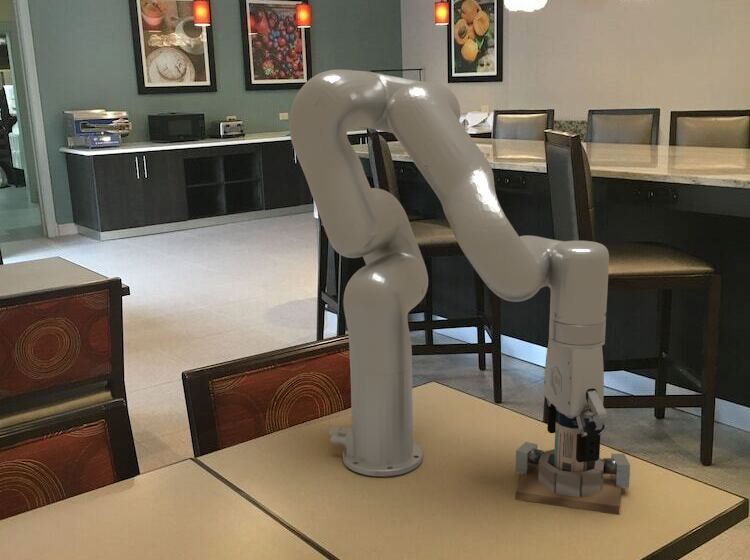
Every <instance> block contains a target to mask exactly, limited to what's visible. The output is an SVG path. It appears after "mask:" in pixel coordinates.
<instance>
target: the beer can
mask: <svg viewBox="0 0 750 560" xmlns="http://www.w3.org/2000/svg"><path fill="white" fill-rule="evenodd" d="M582 412H590V411H589V410H588V409H586V410H582ZM590 420H591V418H584V421H585V425H587V424H588V423H589V422H590ZM577 434H580V431H579V427H578V423H577V419H576V417H574V418H572V419H571V418H568V417H567V416H565V415H564V414H563V413H562V412H561V411H560V410H558V409H557V408H556V428H555V433H554V449H555V450H554V467H555V468H556V469H558V470H560V471H567V472H575V473H581V472H585V471H587V462H578V461H577V460H576V445H577Z"/></svg>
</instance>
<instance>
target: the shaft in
mask: <svg viewBox="0 0 750 560" xmlns="http://www.w3.org/2000/svg"><path fill="white" fill-rule="evenodd" d="M543 452H545V451H544V450H542V449H538V443H533V442H531V441H530V442H529V441H525V442H524V443H523V444H521V446H520V447H518V448H517V449H516V450H515V473H517V474H520V475H522V474H524V475H528V474H529V473H530V472H531V471H532V470H533V469H534V468H535V467H536V466H537V465H539V460H540V457H541V454H542V453H543Z"/></svg>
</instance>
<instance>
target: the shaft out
mask: <svg viewBox="0 0 750 560" xmlns="http://www.w3.org/2000/svg"><path fill="white" fill-rule="evenodd" d="M625 454H626V453H611V454H610V457H611V458H610V457H608V458H607V457H605V458H604V457H603V458H602V459H603V461H604V474H610V476H611V478H612V480H613V482H614V485H615V487H616V488H621V489H622V488H623V489H624V488H626V489H628V488H630V475H631V474H630V472H631V464H630V462H629V460H628V458H627V457H626V455H625Z"/></svg>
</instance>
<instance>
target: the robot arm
mask: <svg viewBox="0 0 750 560" xmlns="http://www.w3.org/2000/svg"><path fill="white" fill-rule="evenodd" d="M288 118H289V119H288V123H289V124H288V126H289V128H288V129H289V135H290V140H291V141H290V142H291V144H292V146H293V150H294V153H295V155H296V158H297V160H298V162H299V165H300V167H301V169H302V171H303V175H304V176H305V180H306V182H307V184H308V185H307V186H308V188H309V191H310V194H311V197H312V199H313V202H314V204H315V207H316V209H317V212H318V215H319V218H320V220H321V223H322V225H323V228H324V232H325V234H326V236H327V239H328V241H329V243H330V245H331V247H332V248H333V249H334V251H335V252H336V253H337V254H339V255H340V256H342V257H344V258H347V259H348V258H349V259H357V258H361V257H362V258H363V261H364V263H365V265H364V266H362V267H361V268H359V269H358V270H356V272H355V273H353V275H352V276H351V278H350V279H349V280H348V281H347V284H346V286H345V290H344V293H343V301H342V302H343V313H344V317H345V322H346V327H347V336H348V345H349V367H350V368H349V369H350V371H349V372H350V400H351V401H350V402H351V403H350V405H351V409H350V410H351V426H349V427H346V428H345V427H342V426H337V425H335V426H333V425H331V426H330V427H329V429H328V436H329V438H330V439H329V441H330V444H332V445H333V444H334V445H343V446H344V450H343V452H342V462H343V464H344V465H345V466H346V467H347V468H348V469H349V470H351V471H353V472H356V474H360V475H364V476H370V477H380V478H381V477H394V476H399V475H403V474H406V473H409V472H411V471H413V470H415V469H416V468H418V467H419V466H420V465H421V463H422V462H423V459H424V456H423V454H424V452H423V449H422V447H420V445H419V444H417V443H416V442H415V441H414V439H413V438H414V437H413V436H414V435H413V434H414V431H413V430H414V429H413V427H414V426H413V420H414V419H413V414H414V412H413V351H412V350H413V349H412V339H411V333H410V328H409V323H408V322H409V320H408V315H409V313H410V312H411V310H412V309H414V308H415V307H417V305H418V304H420V303H421V301H422V300H423V299H424V297H425V296H426V294H427V292H428V287H429V275H428V271H427V270H428V269H427V266H426V264H425V260H424V258H423V255H422V253H421V249H420V247H419V245H418V242H417V239H416V237H415V234H414V231H413V229H412V225H411V223H410V220H409V217H408V215H407V213H406V211H405V209H404V207H403V206H402V203H400V201H399V199H398V198H397V197H395V196H394V195H393V194H392V193H390V192H389V191H387V190H385V189H383V188H377V187H371V186H370V182H369V181H368V178H367V176H366V173H365V170H364V166H363V164H362V161H361V159H360V157H359V156H358V154H357V152H356V150H355V149H354V147H353V145H352V144H351V142H350V141H349V138H348V133H347V132H348V131H349V130H354V129H363V128H364V129H369V130H370V129H371V130H374V131H375V130H376V131H381V132H385V133H391V134H393V136H394V137H395V138H396V140H397V141H398V143H399V144H400V145H401V147H402V148H403V149H404V151H405V152H406V154H407V155H408V157H409V158H410V159H411V161H412V162H413V163H414V164H415V166H416V168H417V169H418V170H419V172H420V173H421V175H422V176H423V178H424V179H425V180H426V182H427V183H428V184H429V186H430V188H431V189H432V190H433V191H434V193H435V195H436V197H437V198H438V200H439V202H440V203H441V206H442V209H443V213H444V216H445V217H446V220H447V221H448V224H449V226H450V228H451V231H452V233H453V235H454V237H455V240H456V241H457V243H458V245H459V247H460V249H461V251H462V252H463V254H464V256H465V257H466V258H467V260H468V262H469V263H470V264H471V265H472V267H473V269H474V270H475V272H476V273H477V274H478V276H479V277H480V278H481V280H482V281H483V282H484V284H486V287H488V288H489V290H491V292H492V293H493V294H495V295H496V296H497V297H499V298H500V299H502V300H505V301H508V302H512V303H514V302H515V303H516V302H517V303H518V302H519V303H520V302H524V301H527V300H529V299H531V298H533V297H534V296H535V295H536V294H537V293H538V292H539V291H540V289H542V288H544V287H548V288H549V289H550V302H549V324H548V325H549V326H548V328H549V330H548V344H547V348H546V355H545V365H544V367H545V368H544V379H543V394H544V397H545V398H546V401H547V403H546V404H547V405H548V407H547V426H546V427H547V428H546V429H547V433H549V434H555V428H556V408H557V409H558V410H560V411H561V412H562V413H563V414H564V415H565V416H567V417H568V418H571V419H572V418H574V417H576V419H577V423H578V427H579V431H580V434H577V445H576V460H577V461H578V462H589V461H597V460H599V457H600V454H601V452H600V451H601V436H602V435H603V431H604V429H605V427H606V426H605V424H606V421H607V418H608V412H607V411H606V409H605V407H604V395H605V394H604V393H605V392H604V390H605V387H604V386H605V384H604V383H605V382H604V380H605V378H604V375H605V374H604V373H605V372H604V370H605V369H604V353H603V346H604V345H605V344H606V327H607V326H606V325H607V307H608V305H607V304H608V303H607V302H608V289H609V288H608V287H609V286H608V284H609V265H610V253H609V249H608V248H607V247H606V246H605V245H604V244H603V243H600V242H596V241H589V240H567V241H565V240H559V239H558V240H557V239H552V238H546V237H542V236H537V235H521V236H519V234H518V232H517V231H516V230H515V229H514V226H513V225H512V224H511V222H510V221H509V219H508V218H507V216H506V214H505V212H504V210H503V208H502V207H501V204H500V202H499V199H498V195H497V193H496V187H495V180H494V179H495V178H494V172H493V169H492V166H491V163H490V162H489V161H488V159H487V158H486V156H485V154H484V153H483V152H482V151H481V149H480V148H479V146H478V145H477V144H476V142H475V141H474V139H473V138H472V137H471V135H470V134H469V133H468V131H467V130H466V128H465V127H464V125H463V124H462V122H461V121H460V119H461V107H460V103H459V100H458V98H457V97H456V95H455V94H454V93H453V92H452V90H451V89H449V88H448V87H447V86H445V85H443V84H441V83H440V84H439V83H437V82H429V81H422V80H415V79H410V78H404V77H400V76H399V77H398V76H394V75H393V76H392V75H388V74H383V73H377V72H372V71H368V70H367V71H366V70H365V71H364V70H353V69H352V70H351V69H330V70H326V71H323V72H320V73H318V74H316V75H314V76H313V77H311V78H310V79H308V80H307V81H306V82H305V83H304V84H303V86H302V87H301V88H299V90H298V92H297V94H296V95H295V97H294V99H293V102H292V105H291V109H290V112H289V117H288ZM586 409H588V410H589V411H590V412H582V410H586ZM584 418H590V419H591V421H590V422H589V423H588V424H587V425H585V421H584Z"/></svg>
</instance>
